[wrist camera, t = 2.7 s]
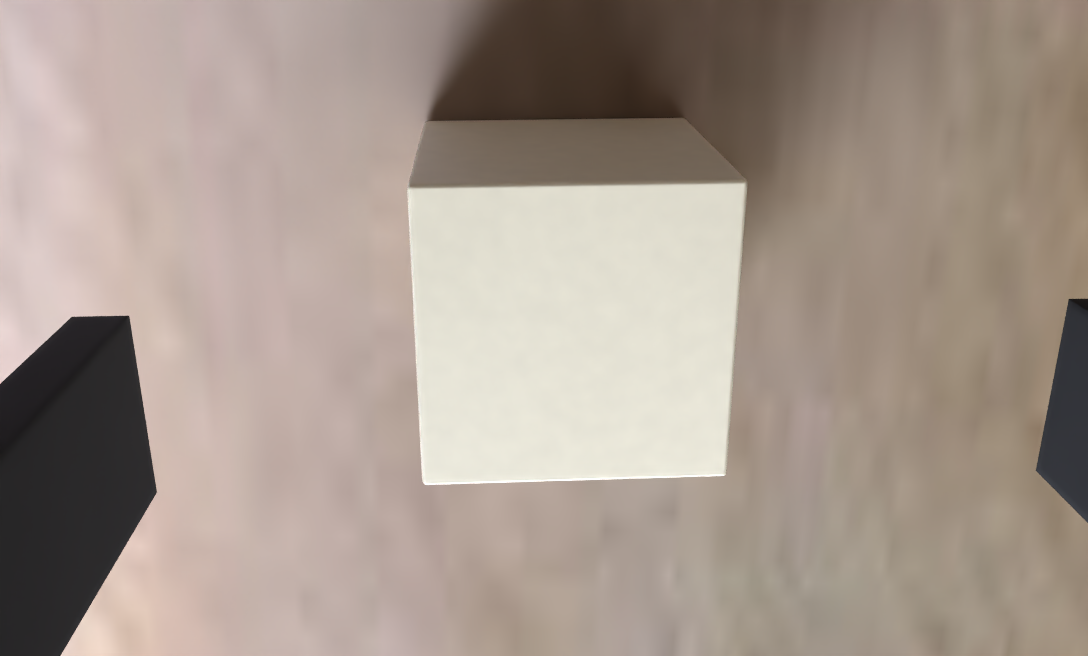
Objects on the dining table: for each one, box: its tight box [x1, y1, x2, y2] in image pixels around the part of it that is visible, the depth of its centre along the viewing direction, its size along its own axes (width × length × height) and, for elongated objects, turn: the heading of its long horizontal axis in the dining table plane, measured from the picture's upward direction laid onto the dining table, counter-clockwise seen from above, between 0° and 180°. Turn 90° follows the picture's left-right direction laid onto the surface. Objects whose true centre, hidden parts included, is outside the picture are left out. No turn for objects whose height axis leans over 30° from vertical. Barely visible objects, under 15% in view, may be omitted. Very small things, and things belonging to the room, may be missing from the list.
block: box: [407, 118, 747, 485], centre depth 18 cm, size 5×5×5 cm
